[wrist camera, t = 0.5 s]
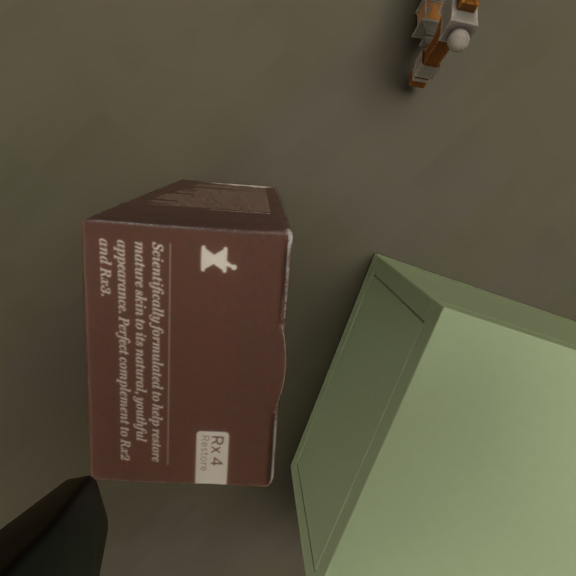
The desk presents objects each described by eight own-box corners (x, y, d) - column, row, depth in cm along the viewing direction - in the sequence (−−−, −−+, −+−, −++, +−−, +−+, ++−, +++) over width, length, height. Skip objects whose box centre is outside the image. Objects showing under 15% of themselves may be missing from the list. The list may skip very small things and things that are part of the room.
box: (171, 178, 20) (72, 209, 9) (278, 186, 21) (315, 226, 9) (169, 314, 22) (82, 490, 10) (268, 319, 22) (290, 493, 11)
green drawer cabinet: (622, 337, 24) (800, 424, 16) (521, 525, 27) (633, 676, 19) (374, 252, 22) (443, 306, 14) (289, 466, 25) (309, 609, 17)
